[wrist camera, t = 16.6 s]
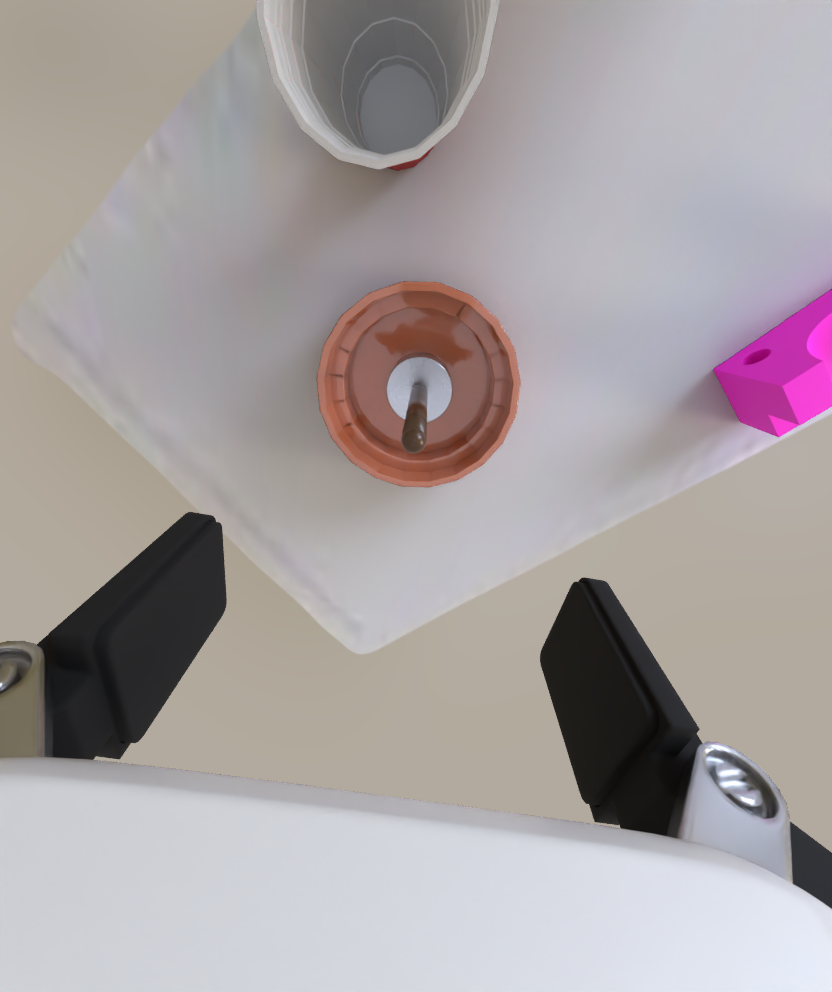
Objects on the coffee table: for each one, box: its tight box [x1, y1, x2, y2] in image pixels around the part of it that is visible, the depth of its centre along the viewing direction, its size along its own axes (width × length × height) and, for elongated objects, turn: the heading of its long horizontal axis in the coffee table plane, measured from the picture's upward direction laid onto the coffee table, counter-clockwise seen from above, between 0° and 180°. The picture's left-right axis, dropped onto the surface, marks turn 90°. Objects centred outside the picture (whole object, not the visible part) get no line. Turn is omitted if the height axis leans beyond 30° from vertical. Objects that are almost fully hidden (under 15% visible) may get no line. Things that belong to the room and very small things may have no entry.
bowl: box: [317, 281, 521, 487], centre depth 33 cm, size 16×16×5 cm
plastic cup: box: [256, 0, 499, 171], centre depth 22 cm, size 11×11×12 cm
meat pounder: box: [386, 352, 453, 453], centre depth 28 cm, size 6×6×16 cm
